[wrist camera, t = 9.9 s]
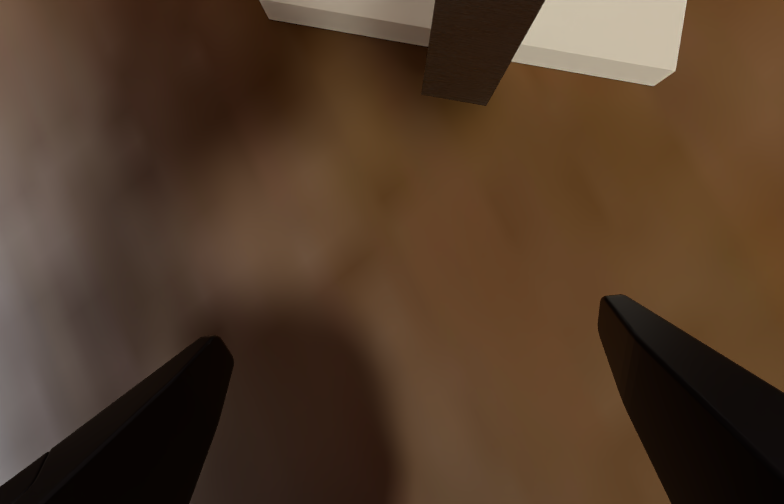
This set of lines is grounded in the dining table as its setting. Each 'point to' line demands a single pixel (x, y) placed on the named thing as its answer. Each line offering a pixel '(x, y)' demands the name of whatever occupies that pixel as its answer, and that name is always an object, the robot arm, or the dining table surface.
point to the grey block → (474, 46)
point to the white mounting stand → (543, 40)
